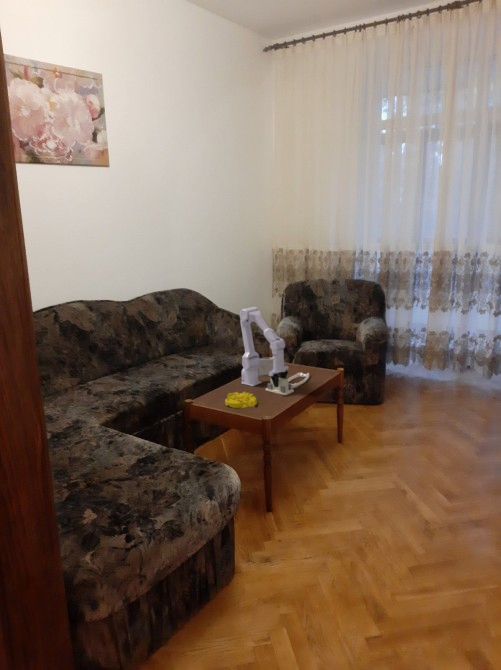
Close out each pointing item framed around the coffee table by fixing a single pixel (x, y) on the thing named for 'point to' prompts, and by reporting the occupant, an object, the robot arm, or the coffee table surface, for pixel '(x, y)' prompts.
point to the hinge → (265, 366)
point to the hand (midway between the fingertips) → (279, 385)
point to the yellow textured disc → (240, 400)
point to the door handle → (300, 381)
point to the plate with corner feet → (279, 390)
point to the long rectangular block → (280, 384)
